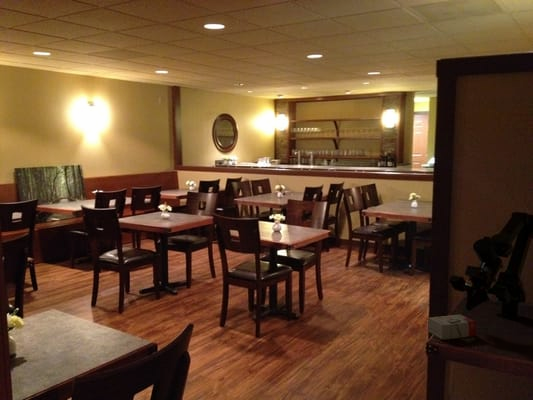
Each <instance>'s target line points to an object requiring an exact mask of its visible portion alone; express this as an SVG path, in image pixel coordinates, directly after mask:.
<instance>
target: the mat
mask: <svg viewBox="0 0 533 400" xmlns="http://www.w3.org/2000/svg"><path fill="white" fill-rule="evenodd" d="M456 339H458V340H460V341H463V342H465V343H471V342H474V341H476V340H477V338H476V337H475V336H469V337H461V338H456Z"/></svg>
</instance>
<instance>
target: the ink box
mask: <svg viewBox="0 0 533 400" xmlns="http://www.w3.org/2000/svg"><path fill="white" fill-rule="evenodd" d="M427 320H428V321H427V322H428V323H427V324H428V325H427V326H428V327H427V328H428V332H429V333H430V334H432V336H433V335H434V336H435V337H437V338H438V339H440V340H443V341H444V340H453V339H457V338H461V337H469V336H471V337H475V336H477V325H476V324H477V323H476V320H473V319H471V318H468V317H467V316H465V315H462V314H452V315H443V316H433V317H428V319H427Z"/></svg>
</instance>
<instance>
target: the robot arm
mask: <svg viewBox="0 0 533 400" xmlns="http://www.w3.org/2000/svg"><path fill="white" fill-rule="evenodd" d="M532 240H533V214H529V213H527V212H525V211H513V212H512V213H511V216H510V218H509V219H508V221H507V222H506V223H505V225H504V227H503V228H502V229H501V230H500V232H499V233H497V234H494V235H492V236H483V237H482V238H481V239H477V240H476V241H475V242H473V245H472V248H473V250H474V253H475V255H476V257H477V259H478V260H479V262H480V264H479V266H474V265H470V264H469V265H466V267H465V271H464V275H465V276H468V280H469V281H468V280H465V277H463V276H461V275H457V274H451V275H450V276H449V278H448V280H447V281H448V282H449V284H450V285H451V287H452V288H453V290H455V291H459V292H462V293H463V292H466V307H465V309H466V311H468V312H471V311H472V310H474V309H475V308H477V307H478V306H479V305H482V304H484V303H485V302H489V301H490V302H491V296H495V298H497V299H498V302H499V303H501V305H500V311H499V312H496V315H497V316H500V317H504V318H506V319H511V320H517V319H520V318H521V317H523V316H524V315H523V314H521V313H520V304H522V303H526V300H527V293H526V291H525V288H524V281H523V279H522V272H523V270H524V269H523V268H524V265H525V263H526V259H527V256H528V252H529V249H530V246H531V242H532ZM514 241H515V242H514ZM513 242H514V245H513ZM509 257H510V258H509ZM502 258H506V259H507V258H509V261H508V264H507V267H506V270H504V271H500V269H503V268H504V264H503V261H502ZM499 271H500V272H499ZM497 275H498V277H497V278H496V276H497ZM493 283H495V284H493Z"/></svg>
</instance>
